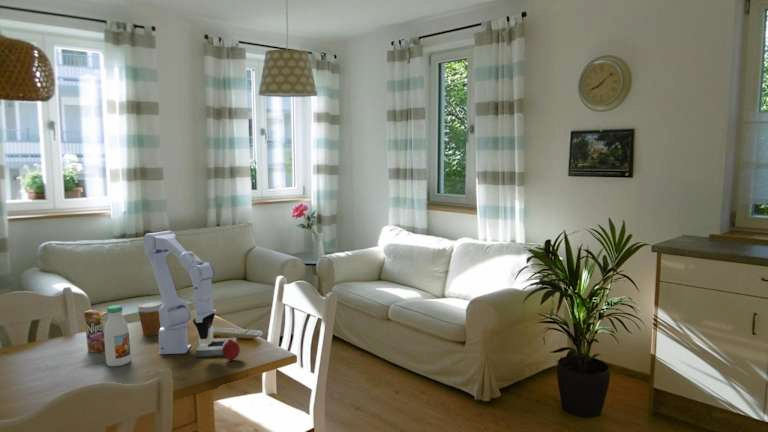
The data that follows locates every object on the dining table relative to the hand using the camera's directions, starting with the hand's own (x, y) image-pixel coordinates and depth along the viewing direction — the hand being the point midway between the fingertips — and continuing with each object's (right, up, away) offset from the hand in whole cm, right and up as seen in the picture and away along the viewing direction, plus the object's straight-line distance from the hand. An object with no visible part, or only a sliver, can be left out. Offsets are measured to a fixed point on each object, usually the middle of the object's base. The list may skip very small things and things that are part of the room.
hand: (205, 336), depth 194 cm
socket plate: (+1, -7, +10) cm, 12 cm away
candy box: (-42, -8, +10) cm, 44 cm away
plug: (0, -2, 0) cm, 2 cm away
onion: (+9, -9, 0) cm, 12 cm away
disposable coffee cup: (-31, -5, +30) cm, 44 cm away
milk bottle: (-30, -9, -1) cm, 31 cm away
